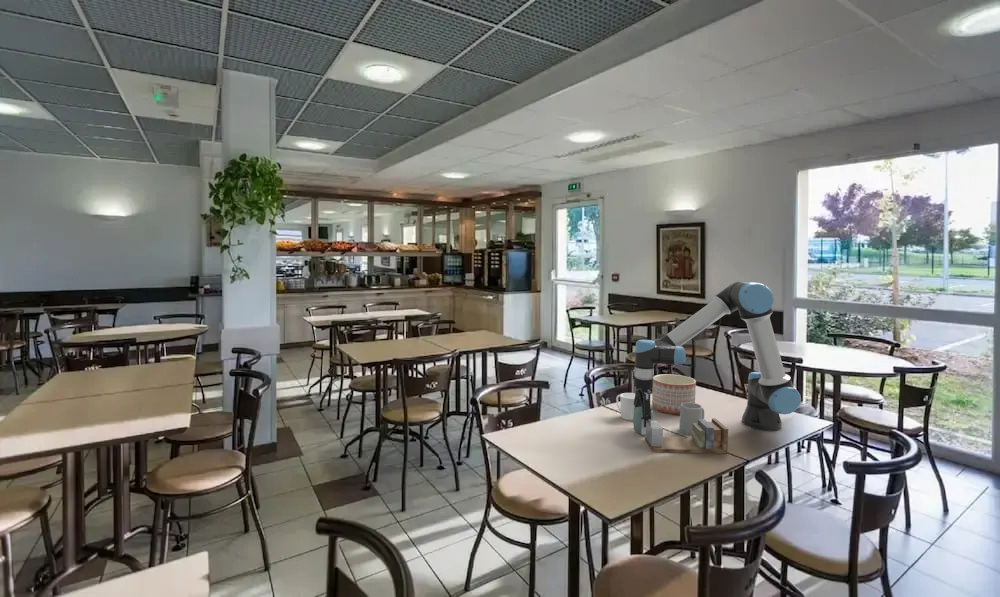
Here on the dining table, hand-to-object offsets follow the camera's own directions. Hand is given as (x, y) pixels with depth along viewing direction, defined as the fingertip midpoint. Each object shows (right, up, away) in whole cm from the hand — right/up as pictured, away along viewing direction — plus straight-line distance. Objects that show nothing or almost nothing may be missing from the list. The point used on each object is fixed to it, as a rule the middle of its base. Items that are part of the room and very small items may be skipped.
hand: (641, 428), depth 203 cm
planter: (+24, +1, +30) cm, 38 cm away
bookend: (+1, -1, -14) cm, 14 cm away
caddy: (+13, -3, -14) cm, 19 cm away
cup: (+1, -2, 0) cm, 2 cm away
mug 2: (+23, -2, +3) cm, 23 cm away
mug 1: (-1, 0, +19) cm, 19 cm away
